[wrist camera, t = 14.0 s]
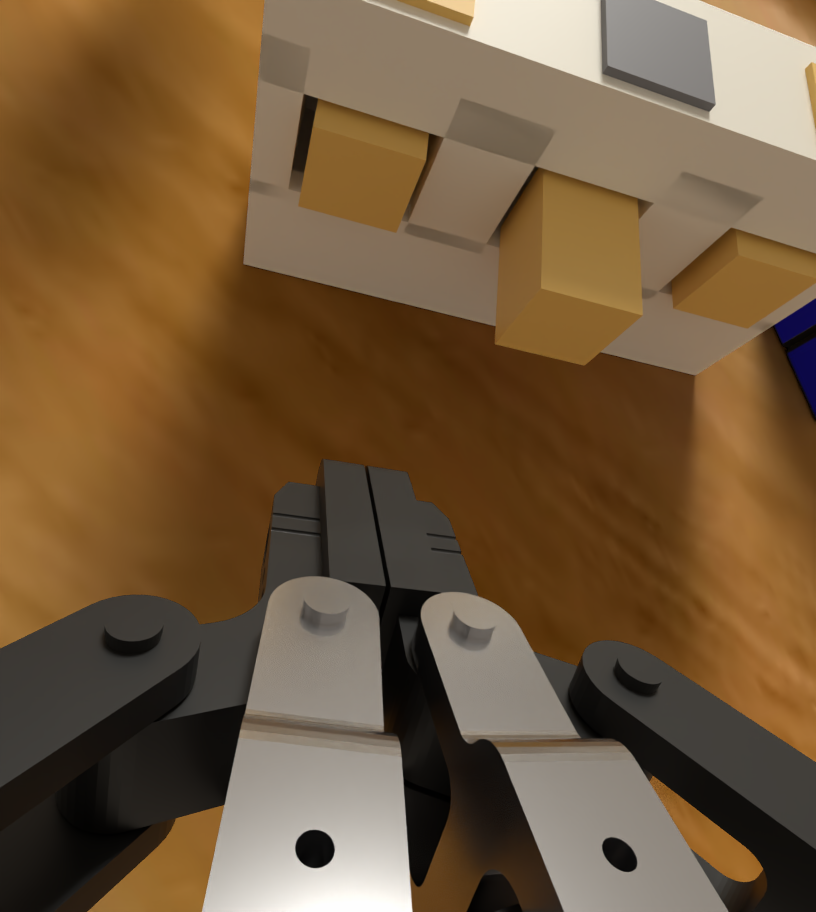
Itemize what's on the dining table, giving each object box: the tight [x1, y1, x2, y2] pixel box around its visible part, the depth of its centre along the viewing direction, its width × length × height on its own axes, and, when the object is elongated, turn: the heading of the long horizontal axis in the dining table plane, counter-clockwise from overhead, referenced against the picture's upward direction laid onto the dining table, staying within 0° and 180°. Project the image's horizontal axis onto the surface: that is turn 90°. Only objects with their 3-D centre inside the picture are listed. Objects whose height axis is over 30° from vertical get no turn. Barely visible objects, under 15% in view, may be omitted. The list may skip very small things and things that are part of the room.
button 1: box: [298, 98, 429, 233], centre depth 25 cm, size 4×6×4 cm
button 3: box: [671, 227, 816, 329], centre depth 29 cm, size 4×6×4 cm
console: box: [243, 0, 816, 375], centre depth 28 cm, size 25×6×14 cm, turn 87°
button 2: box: [495, 167, 643, 366], centre depth 26 cm, size 4×6×4 cm
